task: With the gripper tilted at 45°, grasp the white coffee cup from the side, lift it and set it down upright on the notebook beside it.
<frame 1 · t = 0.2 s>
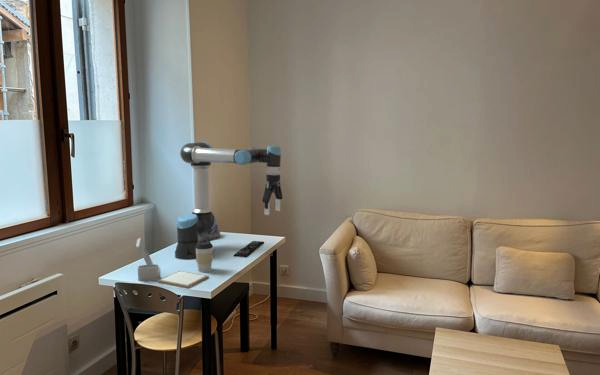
hand: (272, 212, 248), 28 cm above the table, fingers open, 13 cm apart
coffee cup: (204, 270, 236), on the table
remote control: (249, 250, 274), on the table
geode: (207, 239, 299), on the table
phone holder: (149, 275, 228), on the table
notebook: (183, 280, 220), on the table
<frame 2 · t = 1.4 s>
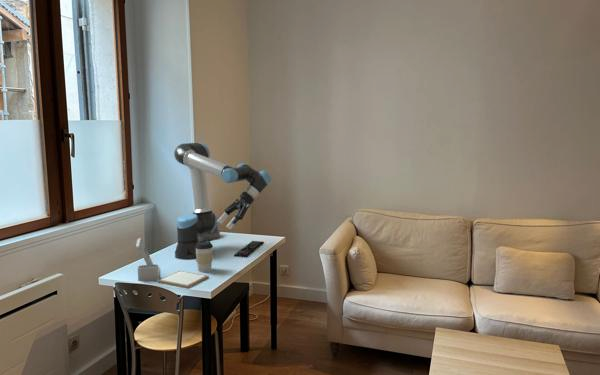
hand: (223, 225, 238), 23 cm above the table, fingers open, 13 cm apart
nothing on the table moved.
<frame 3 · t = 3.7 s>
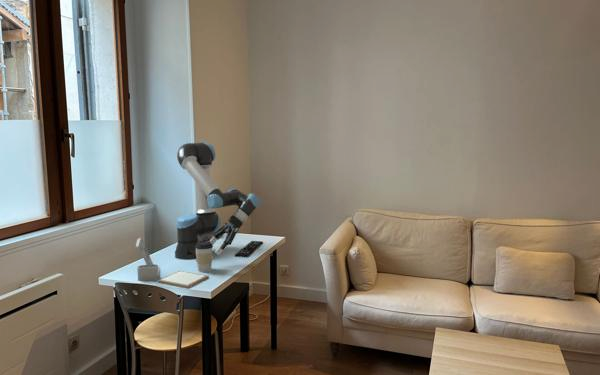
hand: (212, 250, 235), 10 cm above the table, fingers open, 13 cm apart
nothing on the table moved.
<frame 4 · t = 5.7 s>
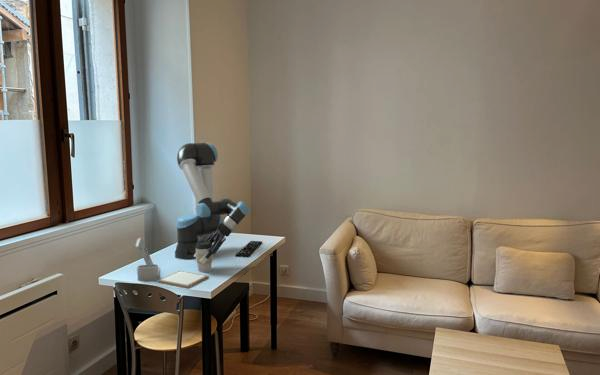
hand: (198, 260, 233), 6 cm above the table, fingers closed on coffee cup, 9 cm apart
coffee cup: (204, 270, 236), on the table, touching gripper
everything else where it was.
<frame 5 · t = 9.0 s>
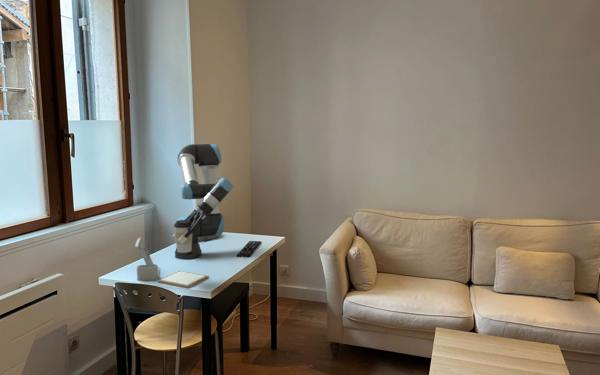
hand: (177, 239, 217), 20 cm above the table, fingers closed on coffee cup, 9 cm apart
coffee cup: (184, 251, 219), point 14 cm above the table, touching gripper
when the fingers open (8 cm above the table, at t = 12.1 s): coffee cup stays where it is, resting on notebook.
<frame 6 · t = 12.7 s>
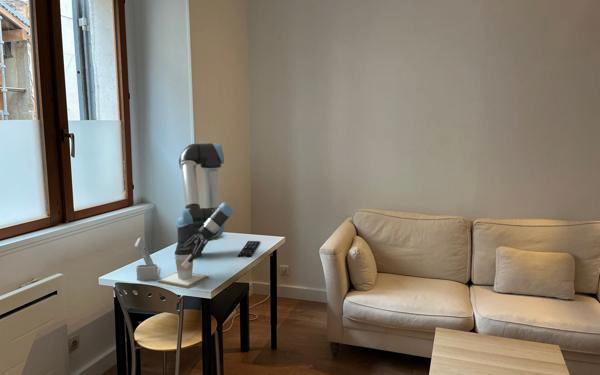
hand: (179, 263, 219), 9 cm above the table, fingers open, 13 cm apart
coffee cup: (185, 277, 221), point 1 cm above the table, touching notebook
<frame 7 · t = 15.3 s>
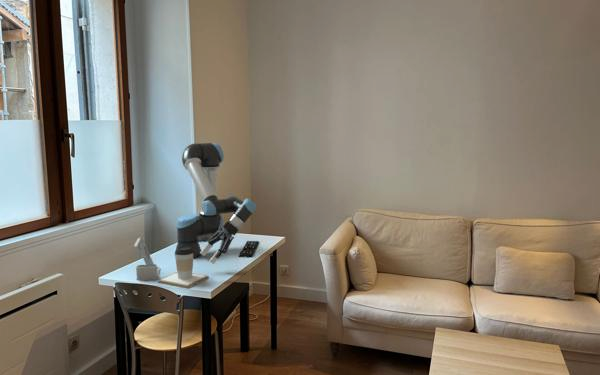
hand: (206, 258, 226), 9 cm above the table, fingers open, 13 cm apart
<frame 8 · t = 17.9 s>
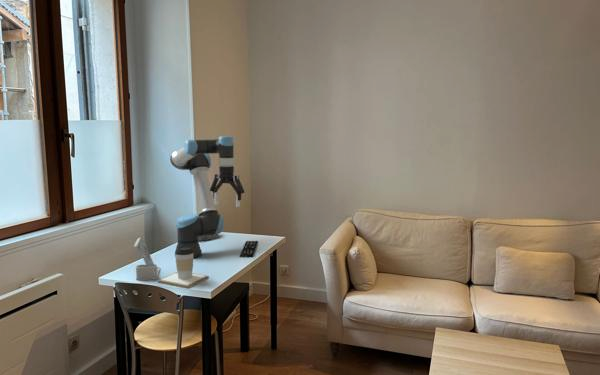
hand: (227, 205, 240), 33 cm above the table, fingers open, 13 cm apart
at the end: coffee cup inside the target area on the notebook (1.2 cm from its centre), point 1.0 cm above the notebook's base; coffee cup tilted 0°; the gripper is holding nothing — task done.
